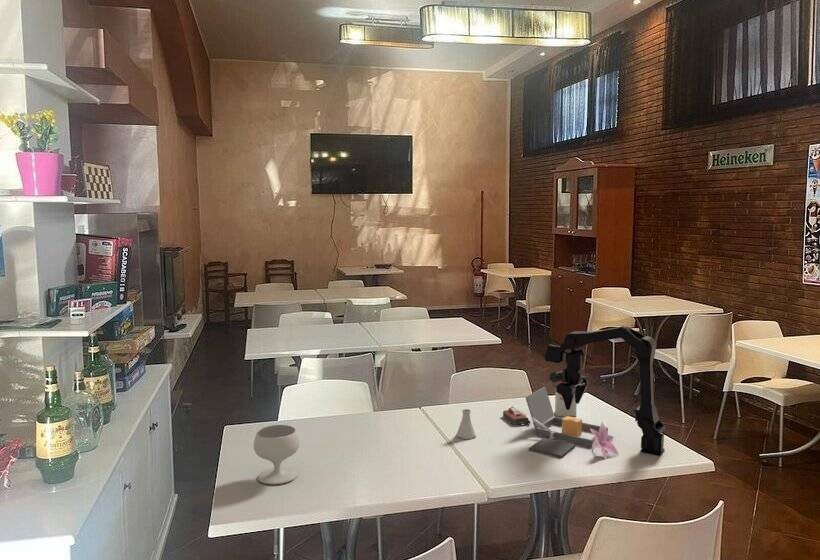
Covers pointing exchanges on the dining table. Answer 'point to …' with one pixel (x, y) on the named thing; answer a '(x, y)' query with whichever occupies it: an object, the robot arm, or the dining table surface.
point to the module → (572, 426)
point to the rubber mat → (552, 447)
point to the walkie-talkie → (515, 416)
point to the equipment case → (553, 419)
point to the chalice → (276, 452)
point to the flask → (466, 426)
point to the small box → (561, 408)
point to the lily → (603, 441)
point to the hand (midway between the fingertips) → (572, 406)
